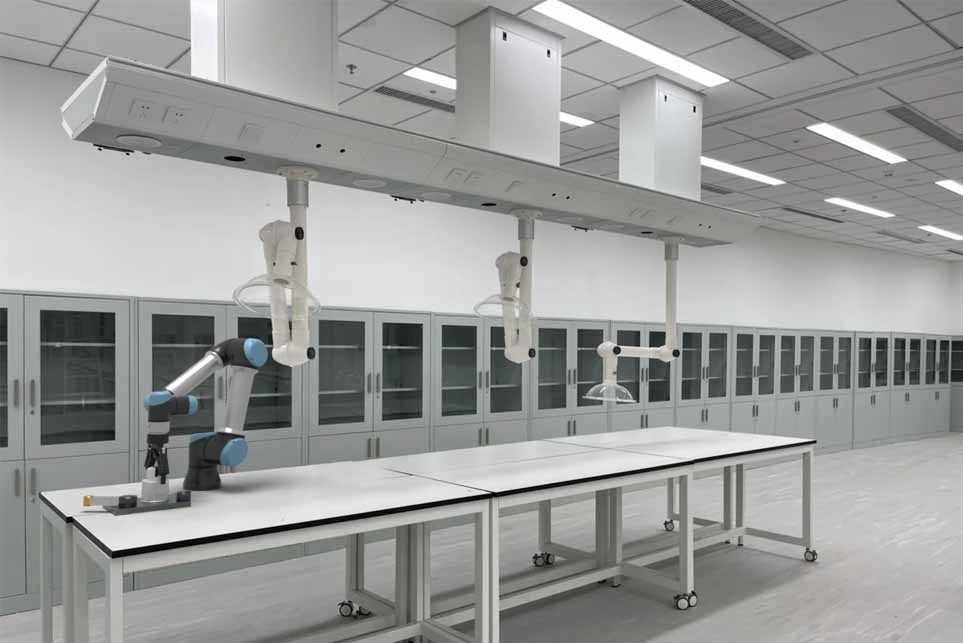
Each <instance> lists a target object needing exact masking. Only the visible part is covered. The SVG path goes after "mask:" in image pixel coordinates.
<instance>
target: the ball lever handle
mask: <svg viewBox="0 0 963 643" xmlns="http://www.w3.org/2000/svg"><path fill="white" fill-rule="evenodd" d="M137 498H138V495H136V494H124V495H119V496H116V495H113V496H111V495H108V496H105V495H100V496H99V495H84V496H83V503H82V506H83V507H92V506H96V507H97V506H101V507H103V506H119V507H133V506H136V505H137Z"/></svg>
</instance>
